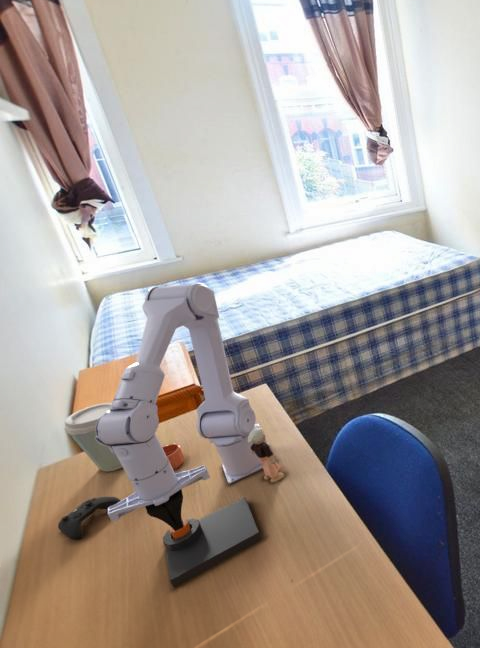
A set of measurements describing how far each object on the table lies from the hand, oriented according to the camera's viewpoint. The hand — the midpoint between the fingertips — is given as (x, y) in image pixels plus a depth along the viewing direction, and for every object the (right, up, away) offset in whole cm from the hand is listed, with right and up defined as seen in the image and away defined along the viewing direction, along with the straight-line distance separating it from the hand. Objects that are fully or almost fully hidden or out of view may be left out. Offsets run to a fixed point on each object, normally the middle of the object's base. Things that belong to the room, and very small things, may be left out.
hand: (178, 525), depth 86 cm
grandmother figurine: (+8, +3, +17) cm, 19 cm away
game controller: (-25, -4, +10) cm, 27 cm away
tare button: (0, -2, +1) cm, 2 cm away
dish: (-19, +3, +24) cm, 30 cm away
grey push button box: (+5, -4, +2) cm, 7 cm away
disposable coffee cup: (-33, +3, +26) cm, 43 cm away
